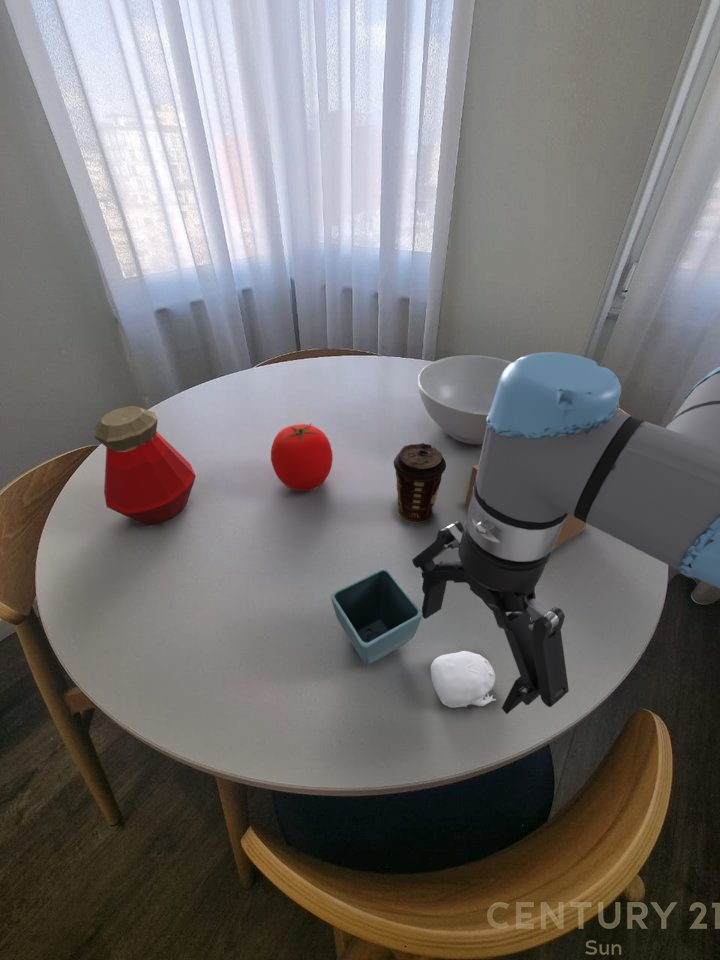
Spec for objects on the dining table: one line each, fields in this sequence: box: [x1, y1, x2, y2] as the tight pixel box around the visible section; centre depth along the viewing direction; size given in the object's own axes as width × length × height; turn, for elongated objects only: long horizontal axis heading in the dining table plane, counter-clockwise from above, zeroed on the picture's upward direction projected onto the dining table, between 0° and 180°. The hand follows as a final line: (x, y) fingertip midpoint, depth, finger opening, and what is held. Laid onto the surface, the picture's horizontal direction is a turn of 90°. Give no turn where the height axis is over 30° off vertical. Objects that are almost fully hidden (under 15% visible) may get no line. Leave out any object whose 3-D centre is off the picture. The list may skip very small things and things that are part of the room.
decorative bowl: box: [417, 354, 514, 445], centre depth 97 cm, size 27×27×12 cm
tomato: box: [270, 423, 334, 492], centre depth 83 cm, size 12×12×13 cm
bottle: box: [92, 405, 197, 526], centre depth 75 cm, size 16×14×20 cm
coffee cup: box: [393, 442, 447, 524], centre depth 76 cm, size 9×8×13 cm
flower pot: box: [330, 567, 423, 666], centre depth 58 cm, size 9×9×9 cm
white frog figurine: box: [430, 650, 497, 708], centre depth 55 cm, size 8×7×4 cm
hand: (468, 654), depth 52 cm, fingers open, 13 cm apart
